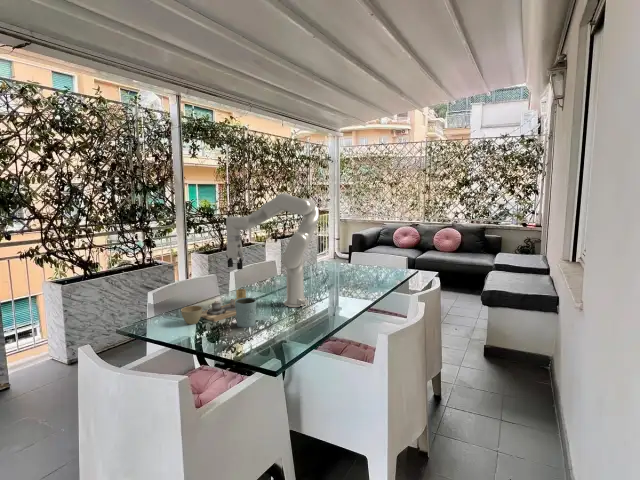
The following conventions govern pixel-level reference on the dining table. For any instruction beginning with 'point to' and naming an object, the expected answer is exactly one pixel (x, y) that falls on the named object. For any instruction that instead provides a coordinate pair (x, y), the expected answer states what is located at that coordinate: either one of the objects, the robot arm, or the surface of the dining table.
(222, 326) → the dining table surface
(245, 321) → the grey cup
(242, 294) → the brass gear
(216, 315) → the gear board
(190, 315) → the flower pot
